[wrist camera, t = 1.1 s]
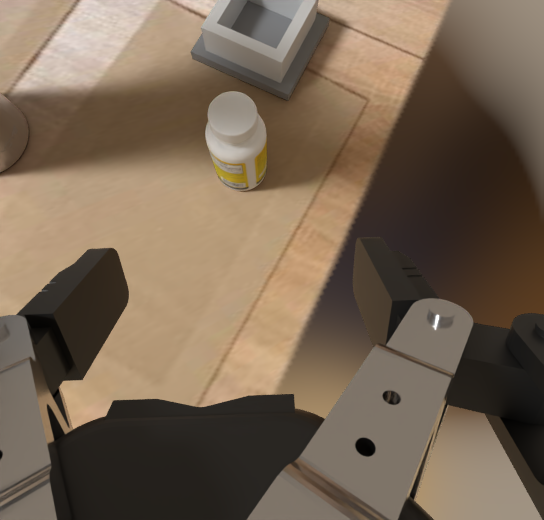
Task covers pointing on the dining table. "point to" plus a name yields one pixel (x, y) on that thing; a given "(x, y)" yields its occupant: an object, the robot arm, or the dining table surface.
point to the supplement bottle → (237, 141)
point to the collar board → (262, 41)
